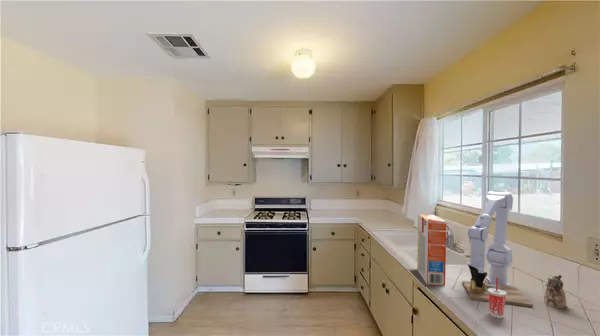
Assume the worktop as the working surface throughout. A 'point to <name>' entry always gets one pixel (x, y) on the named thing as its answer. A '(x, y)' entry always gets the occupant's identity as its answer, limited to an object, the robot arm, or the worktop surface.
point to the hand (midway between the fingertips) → (477, 284)
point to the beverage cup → (496, 301)
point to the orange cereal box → (431, 249)
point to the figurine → (555, 292)
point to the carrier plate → (509, 296)
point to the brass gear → (473, 286)
